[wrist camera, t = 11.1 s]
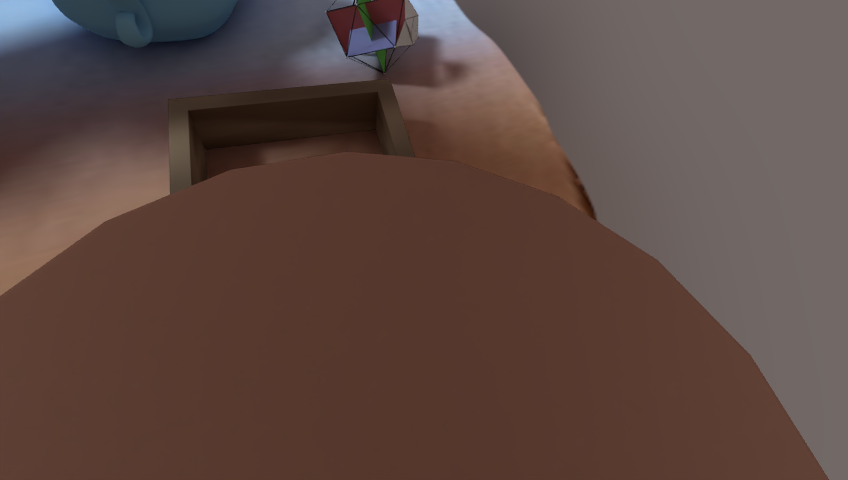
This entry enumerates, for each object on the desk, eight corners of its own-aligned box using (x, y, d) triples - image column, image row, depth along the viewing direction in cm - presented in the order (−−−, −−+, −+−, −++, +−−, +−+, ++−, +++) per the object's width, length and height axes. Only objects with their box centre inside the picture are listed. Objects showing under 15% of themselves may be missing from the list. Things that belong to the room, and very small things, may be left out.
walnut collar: (187, 138, 34) (168, 99, 31) (387, 116, 38) (389, 78, 35) (195, 333, 28) (172, 310, 24) (437, 283, 31) (447, 257, 28)
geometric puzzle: (304, 56, 37) (365, -12, 32) (315, 3, 40) (371, -66, 35) (373, 102, 42) (437, 49, 37) (378, 51, 45) (436, -4, 40)
